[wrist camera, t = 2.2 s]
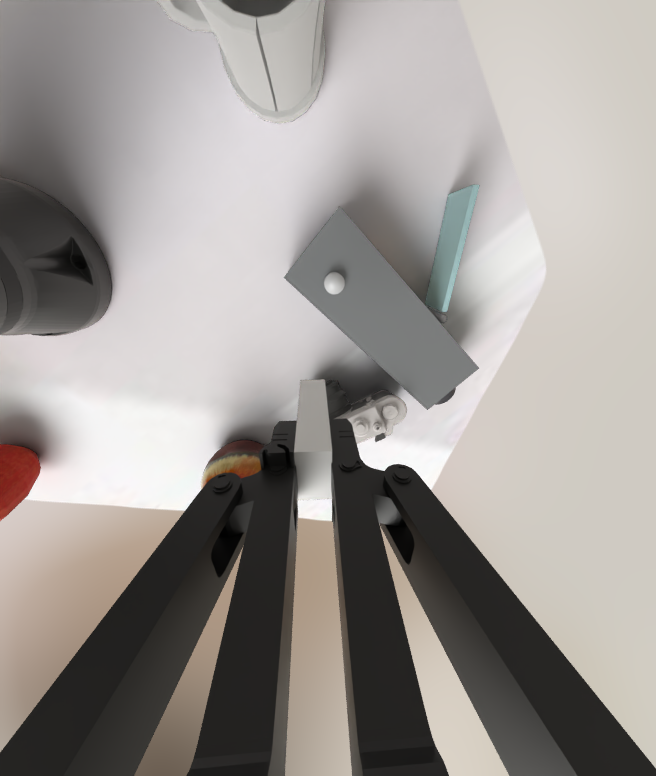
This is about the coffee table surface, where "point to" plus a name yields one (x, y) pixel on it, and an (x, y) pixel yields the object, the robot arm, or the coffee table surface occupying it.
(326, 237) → the long gray box
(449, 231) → the side door
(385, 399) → the camera
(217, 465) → the vase
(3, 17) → the coffee table surface
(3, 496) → the apple
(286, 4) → the cup
